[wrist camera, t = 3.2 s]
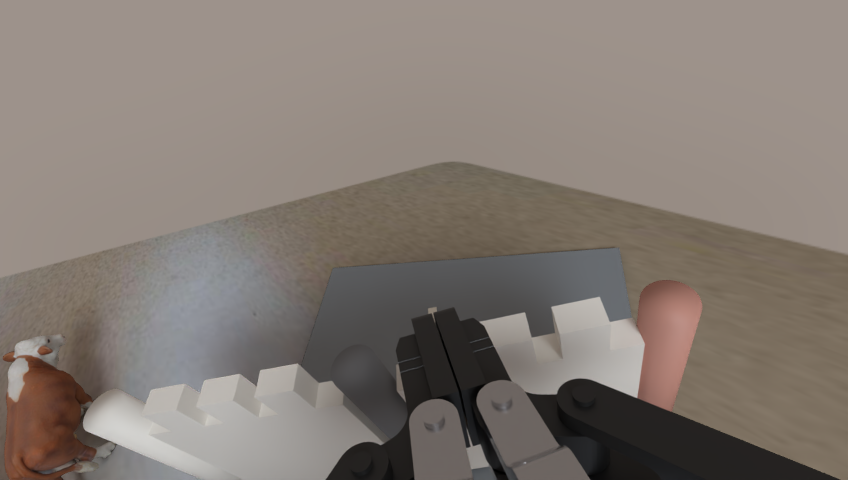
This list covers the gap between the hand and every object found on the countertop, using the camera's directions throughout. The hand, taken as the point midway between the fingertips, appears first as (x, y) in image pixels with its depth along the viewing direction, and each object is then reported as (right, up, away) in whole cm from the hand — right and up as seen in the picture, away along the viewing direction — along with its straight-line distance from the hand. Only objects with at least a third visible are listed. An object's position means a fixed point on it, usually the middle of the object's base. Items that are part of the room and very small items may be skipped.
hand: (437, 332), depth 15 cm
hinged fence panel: (+7, -9, +12) cm, 17 cm away
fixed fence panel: (-5, -12, +14) cm, 20 cm away
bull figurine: (-29, -13, +24) cm, 39 cm away
